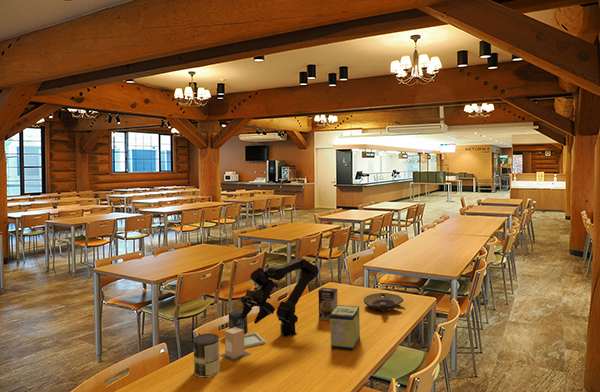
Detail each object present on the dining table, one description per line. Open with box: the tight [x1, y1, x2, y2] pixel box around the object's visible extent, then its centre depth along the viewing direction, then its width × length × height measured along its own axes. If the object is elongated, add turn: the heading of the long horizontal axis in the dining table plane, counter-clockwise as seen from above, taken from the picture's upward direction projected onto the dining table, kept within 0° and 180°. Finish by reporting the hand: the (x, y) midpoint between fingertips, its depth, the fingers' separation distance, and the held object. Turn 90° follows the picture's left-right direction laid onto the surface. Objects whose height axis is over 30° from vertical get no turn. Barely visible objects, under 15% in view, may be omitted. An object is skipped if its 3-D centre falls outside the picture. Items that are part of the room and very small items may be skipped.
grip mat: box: [219, 351, 252, 363], centre depth 193 cm, size 10×10×1 cm
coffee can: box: [192, 333, 221, 378], centre depth 177 cm, size 10×10×14 cm
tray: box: [244, 332, 266, 349], centre depth 207 cm, size 12×12×2 cm
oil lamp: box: [363, 292, 404, 312], centre depth 250 cm, size 22×30×8 cm
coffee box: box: [318, 287, 338, 321], centre depth 236 cm, size 9×6×16 cm
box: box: [228, 309, 249, 334], centre depth 220 cm, size 8×6×11 cm
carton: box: [224, 327, 246, 359], centre depth 192 cm, size 6×6×11 cm
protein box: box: [329, 304, 361, 351], centre depth 202 cm, size 10×16×16 cm
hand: (248, 321), depth 198 cm, fingers open, 9 cm apart
